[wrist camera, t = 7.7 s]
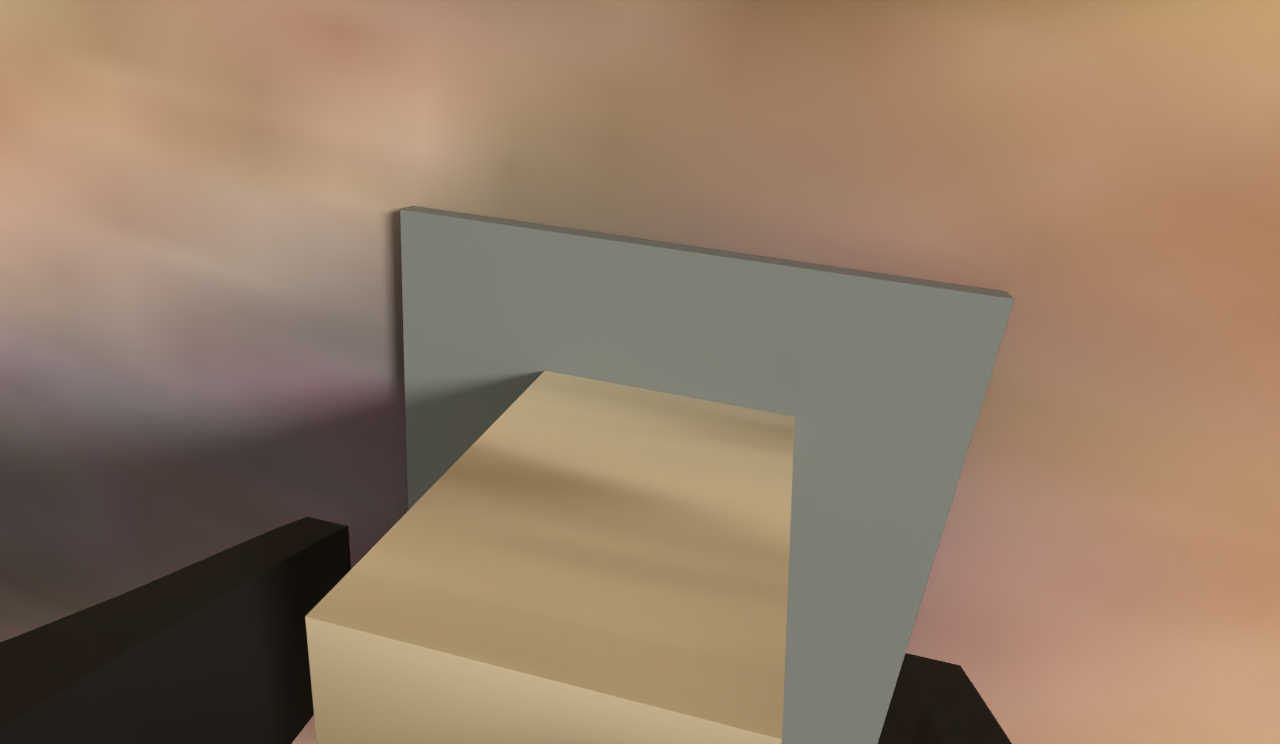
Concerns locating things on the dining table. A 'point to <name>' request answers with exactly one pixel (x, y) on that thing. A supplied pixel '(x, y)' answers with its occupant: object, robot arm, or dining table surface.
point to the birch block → (574, 583)
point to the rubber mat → (736, 375)
